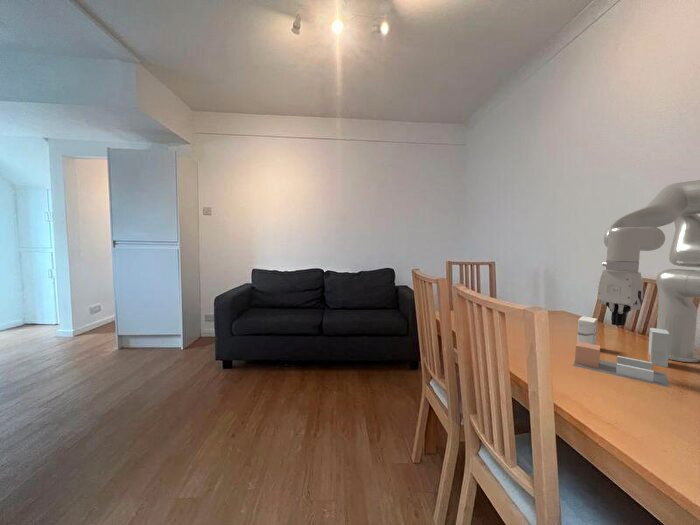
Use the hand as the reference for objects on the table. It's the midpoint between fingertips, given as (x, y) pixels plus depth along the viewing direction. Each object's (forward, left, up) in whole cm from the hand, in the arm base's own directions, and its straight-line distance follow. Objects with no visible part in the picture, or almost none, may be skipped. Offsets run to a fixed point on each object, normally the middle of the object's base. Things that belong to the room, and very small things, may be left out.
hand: (618, 324), depth 94 cm
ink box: (-20, -9, -16) cm, 27 cm away
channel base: (0, +1, -15) cm, 15 cm away
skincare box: (-16, +10, -16) cm, 25 cm away
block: (0, -7, -14) cm, 16 cm away
